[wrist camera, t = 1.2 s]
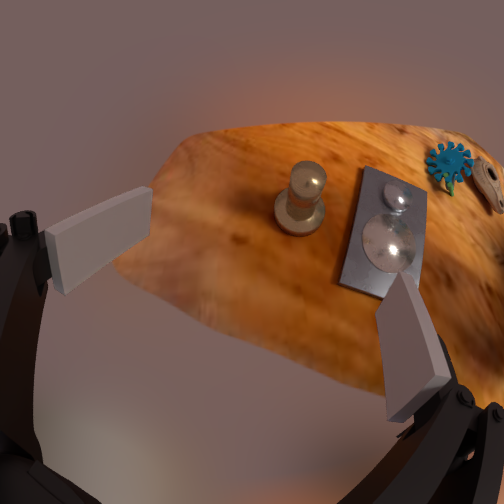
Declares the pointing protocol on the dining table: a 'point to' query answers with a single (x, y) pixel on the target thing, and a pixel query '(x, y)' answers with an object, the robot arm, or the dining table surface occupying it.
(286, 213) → the metal knob
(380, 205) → the carrier plate
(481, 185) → the pottery oil lamp
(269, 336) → the dining table surface
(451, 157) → the gear
